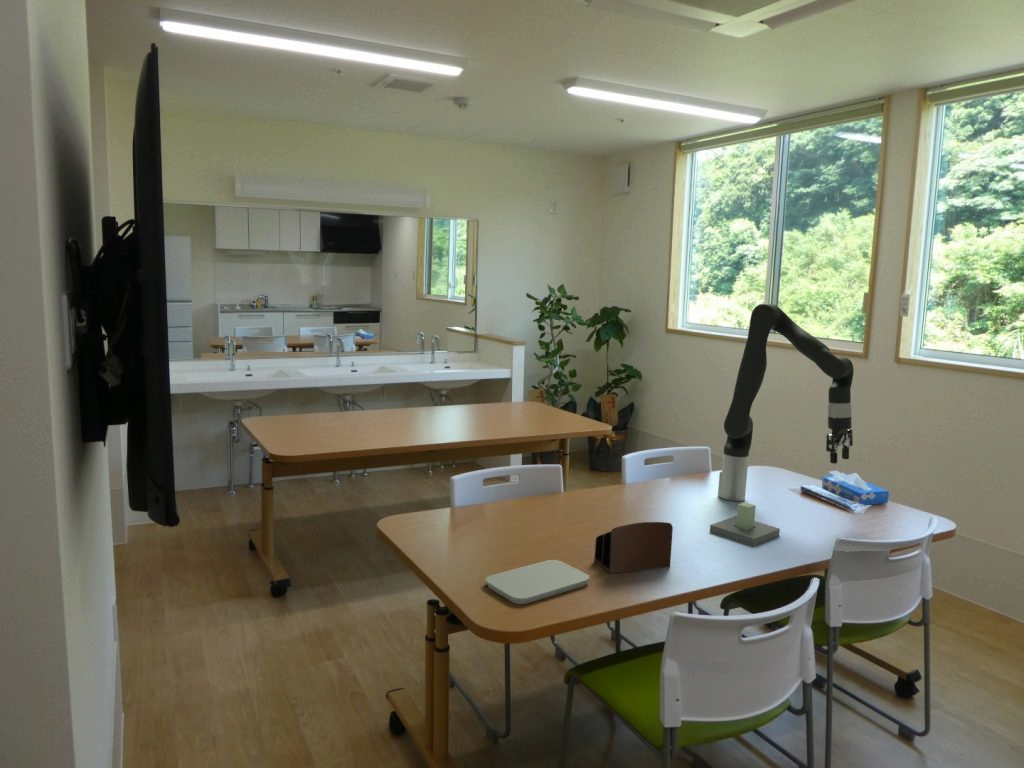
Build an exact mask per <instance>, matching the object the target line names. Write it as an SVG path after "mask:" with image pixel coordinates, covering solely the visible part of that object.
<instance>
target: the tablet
mask: <svg viewBox="0 0 1024 768" xmlns="http://www.w3.org/2000/svg"><path fill="white" fill-rule="evenodd" d="M589 581H590V575H589V574H587V573H585V571H582V570H579V569H577V568H575V567H573V566H571V565H569V564H567V563H565V562H563V561H561V560H558V559H557V560H556V559H547V560H544V561H540V562H537V563H532V564H528V565H526V566H521V567H517V568H514V569H509V570H506V571H503V572H499V573H494V574H491V575H488V576H487V577H486V578H485V583H486V585H487V587H488V589H490V590H492V591H493V592H495V593H496V594H498V595H499V596H501V597H503V598H505V599H507V600H508V601H510V602H511V603H512V604H516V605H526V604H530V603H534V602H536V601H539V600H542V599H546V598H549V597H553V596H556V595H559V594H563V593H565V592H569V591H572V590H575V589H579V588H581V587H585V586H586V585H587V582H589Z"/></svg>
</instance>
